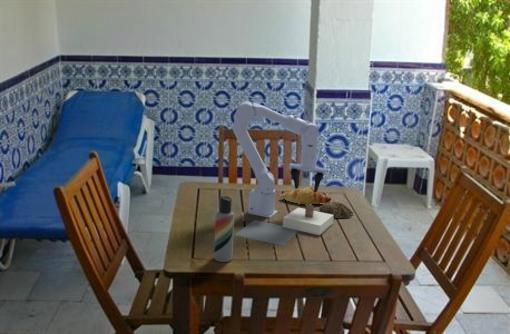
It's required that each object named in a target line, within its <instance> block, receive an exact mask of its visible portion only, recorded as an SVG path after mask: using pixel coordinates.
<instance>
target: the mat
mask: <svg viewBox="0 0 510 334" xmlns="http://www.w3.org/2000/svg"><path fill="white" fill-rule="evenodd" d="M299 232H300V231H299V230H295V229H290V228H286V227H283V225H280V224H276V223H272V222H271V223H270V222H265V221H262V220H261V221H260V220H256V219H254V220H253V221H251V222H250V223H248V224H247V225H246V226H245V227H243V228H242V229H240V230H239V231H238V232H237V233H234V236H236V237H237V236H238V237H243V238H247V239H251V240H256V241H260V242H264V243H269V244H273V245H278V246H283V247H284V246H285V245H286V244H287V243H288V242H289V241H290V240H291V239H292V238H294V236H295V235H296V234H297V233H299Z"/></svg>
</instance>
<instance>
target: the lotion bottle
mask: <svg viewBox="0 0 510 334" xmlns="http://www.w3.org/2000/svg"><path fill="white" fill-rule="evenodd" d="M232 201H233V199H232V198H231V197H230V196H227V195H225V196H223V195H221V196H220V197H219V199H218V210H217V211H215V215H214V216H215V219H214V221H215V222H214V223H215V224H214V245H213V246H214V247H213V248H214V249H213V250H214V251H213V258H214V260H215V261H217V262H220V263H226V262H231V261H232V259H233V248H234V229H235V212H234V211H232V206H233V203H232Z"/></svg>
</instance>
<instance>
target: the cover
mask: <svg viewBox="0 0 510 334" xmlns="http://www.w3.org/2000/svg"><path fill="white" fill-rule="evenodd" d="M314 209H315V207H314V205H305V208H302V207H296V208H295V209H293V210H292V211H291V212H290V213H288V214H286V215H285V216H283V218H282V226H283V227H286V228H290V229H295V230H299V231H298V232H304V233H308V234H312V235H317V236H321V234H323V233H324V232H325V231H326V230H327V229H328V228H330V227H331V225H333V224H334V218H333V217H334V215H332V214H327V213H322V212H320V211H317V210H314Z"/></svg>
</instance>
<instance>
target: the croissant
mask: <svg viewBox="0 0 510 334" xmlns="http://www.w3.org/2000/svg"><path fill="white" fill-rule="evenodd" d="M279 198H280V199H281V198H282V199H281V200H283V199H285V200H287V201H286V202H288V201H291V202H294V203H293V204H295V203H300V204H320V203H329V202H332V201H331V200H332V197H331V196H327V195H325V194H321V193H320V192H319V191H317V192H314V188H312V187H310V186H307V187H304V188H301V189H299V188H298V189H294V190H292V191H287V192H284V193H281V194H280V195H279ZM285 200H284V201H285ZM291 202H290V203H291ZM320 205H321V204H320Z"/></svg>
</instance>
